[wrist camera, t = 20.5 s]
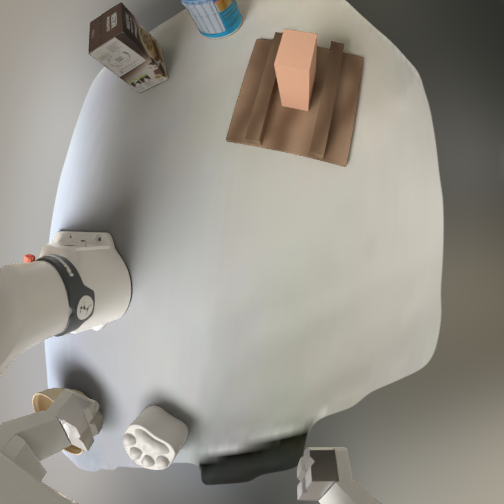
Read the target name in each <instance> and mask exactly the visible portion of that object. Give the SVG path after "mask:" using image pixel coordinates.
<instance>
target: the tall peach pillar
mask: <svg viewBox="0 0 504 504" xmlns="http://www.w3.org/2000/svg"><path fill="white" fill-rule="evenodd" d="M316 53H317V34H314V33H308V32H301V31H295V30H287V29H284V32H283V35H282V39H281V42H280V45H279V49H278V52H277V56H276V59H275V63H274V67H275V72H276V77H277V82H278V87H279V93H280V98H281V103H282V106H284V107H289V108H295V109H300V110H305V111H309V106H310V101H311V97H312V92H313V87H314V83H315V74H316Z"/></svg>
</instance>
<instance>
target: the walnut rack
mask: <svg viewBox="0 0 504 504" xmlns="http://www.w3.org/2000/svg"><path fill="white" fill-rule="evenodd" d="M282 35H283V33H277V32H276V33H275V36H274V39H273V40H265V39H257V40H256V43H255V46H254V49H253V52H252V55H251V58H250V61H249V64H248V67H247V70H246V73H245V76H244V80H243V83H242V86H241V89H240V93H239V96H238V99H237V103H236V106H235V109H234V113H233V116H232V120H231V123H230V127H229V130H228V134H227V137H226V140H227V141H228V142H234V143H240V144H246V145H251V146H257V147H262V148H267V149H272V150H277V151H282V152H287V153H291V154H296V155H300V156H305V157H309V158H313V159H317V160H321V161H325V162H329V163H333V164H337V165H340V166H344V167H346V165H347V160H348V154H349V149H350V144H351V138H352V132H353V127H354V121H355V114H356V108H357V101H358V94H359V87H360V80H361V72H362V63H363V57H359V56H355V55H351V54H347V53H343V48H344V44H342V43H337V42H333V41H331V47H330V49H325V48H320V47H317V53H316V74H315V83H314V87H313V92H312V97H311V101H310V106H309V111H305V110H300V109H295V108H289V107H284V106H282V103H281V98H280V93H279V87H278V82H277V77H276V72H275V67H274V63H275V59H276V56H277V52H278V49H279V45H280V42H281V39H282Z"/></svg>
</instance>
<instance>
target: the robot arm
mask: <svg viewBox="0 0 504 504" xmlns="http://www.w3.org/2000/svg"><path fill="white" fill-rule="evenodd" d="M100 238H101V241H100ZM24 258H25V263H19V264H11V265H5V266H3V267H2V268H0V377H1V375H2V374H3V372H4V371H5V370H6V368H7V367H8V366H9V365H10V363H11V362H12V361H13V360H14V359H15V358H16V357H17V356H18V355H19V354H20V353H22V352H23V351H25V350H26V349H28V348H30V347H31V346H33V345H35V344H37V343H39V342H41V341H44V340H46V339H48V338H50V337H52V336H62V335H67V334H69V333H71V332H72V333H78V332H81V331H85V330H88V329H91V328H92V329H94V330H96V331H97V330H101V329H102V328H103V327H104V326H105V325H106V323H108V322H111V321H114V320H117V319H118V318H120V317H121V316H122V315H123V314H124V313H125V311H126V310H127V308H128V305H129V302H130V298H131V281H130V276H129V273H128V270H127V267H126V265H125V263H124V261H123V260H122V258H121V257H120V255H119V254H118V253H117V251H116V249H115V246H114V242H113V239H112V237H111V235H110V234H109V233H107V232H76V231H60V232H57V233H56V234H55V236H54V238H53V241H52V243H48V244H45V245H44V247H43V248H42V251H41V253H40V257H39V259H37V260H36V261H35V256H34V255H30V254H29V255H25V257H24ZM99 408H100V407H99V404H98V402H96V401H94V400H91V399H89V398H87V397H85V396H82V395H80V394H78V393H76V392H74V391H72V390H70V389H67V388H66V389H64V390H63V391H62V392H61V393H60V395H59V396H58V397H57V398H56V399H55V401H54V402H53V403H52V404H51V405H50V407H49V408H48V409H47V410H46V411H44V410H42V411H39V412H36V413H33V414H30V415H27V416H23V417H20V418H17V419H14V420H10V421H7V422H3V423H2V424H1V425H0V504H79V503H77V502H75V501H73V500H71V499H69V498H68V497H66V496H64V495H62V494H61V493H59V492H57V491H55V490H54V489H52V488H50V487H49V486H47V485H46V484H44V483H43V482H41V481H42V479H43V477H44V476H45V474H46V469H45V467H44V466H43V465H42V464H41V462H40V461H41V460H43V459H45V458H47V457H49V456H51V455H53V454H55V453H57V452H59V451H61V450H63V449H65V448H67V447H68V446H70V445H71V444H72V445H74V446H76V447H79V448H81V449H83V450H85V451H87V452H88V451H89V449H90V447H91V446H92V444H93V442H94V437H93V436H94V435H97V434H99V432H100V430H101V429H102V425H103V416H102V414H101V413H100V412H99V411H98V409H99ZM297 478H298V479H299V480H300V481H301V482H300V483H299V485H298V486H297V493H298V500H319V502H320V504H381V503H380V502H379V501H378V500H376V499H375V498H374V497H373V496H372V495H371V494H370V493H369V492H368V491H367V490H366V489H365V488H364V487H363V486H362V485H361V484H360V483H359V482H358V481H353V477H352V471H351V466H350V461H349V456H348V451H347V449H346V448H344V447H340V448H332V447H308V448H306V450H305V451H304V456H303V457H301V459H300V461H299V464H298V468H297Z"/></svg>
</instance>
